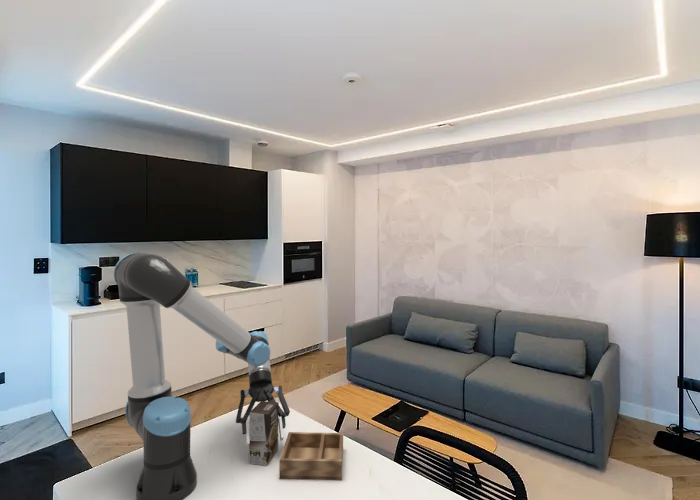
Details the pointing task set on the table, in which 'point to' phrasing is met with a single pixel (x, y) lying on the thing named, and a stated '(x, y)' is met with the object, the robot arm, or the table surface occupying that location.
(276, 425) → the coffee box
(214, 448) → the table surface
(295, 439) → the caddy
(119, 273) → the robot arm
